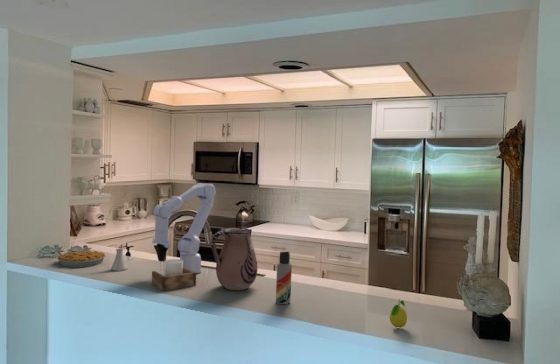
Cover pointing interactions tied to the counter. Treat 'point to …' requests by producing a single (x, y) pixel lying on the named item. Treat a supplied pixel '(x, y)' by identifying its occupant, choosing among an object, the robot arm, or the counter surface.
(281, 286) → the lotion bottle
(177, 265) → the white cup
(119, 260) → the flask
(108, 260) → the counter surface
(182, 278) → the wooden box
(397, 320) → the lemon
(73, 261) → the pie
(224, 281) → the ceramic pitcher
